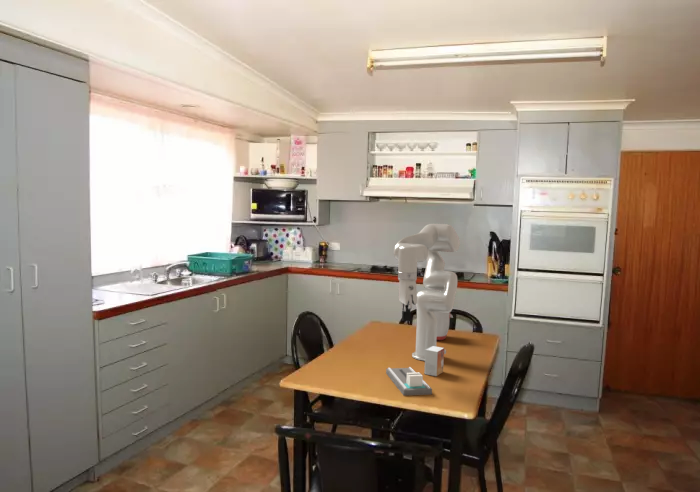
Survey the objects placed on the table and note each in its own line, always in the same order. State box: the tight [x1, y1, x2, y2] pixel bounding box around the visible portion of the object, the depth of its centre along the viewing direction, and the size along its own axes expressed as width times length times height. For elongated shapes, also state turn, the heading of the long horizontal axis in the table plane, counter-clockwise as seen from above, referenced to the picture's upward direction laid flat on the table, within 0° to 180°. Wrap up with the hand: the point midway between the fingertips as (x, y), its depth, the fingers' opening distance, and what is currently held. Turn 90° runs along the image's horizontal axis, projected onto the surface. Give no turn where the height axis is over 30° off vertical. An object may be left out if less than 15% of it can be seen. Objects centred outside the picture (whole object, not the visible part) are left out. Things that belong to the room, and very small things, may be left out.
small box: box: [424, 345, 445, 377], centre depth 206 cm, size 8×6×10 cm
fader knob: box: [406, 371, 424, 387], centre depth 185 cm, size 5×4×4 cm
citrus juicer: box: [433, 312, 454, 341], centre depth 265 cm, size 16×17×20 cm
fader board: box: [385, 366, 433, 396], centre depth 193 cm, size 11×25×2 cm, turn 11°
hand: (406, 320), depth 200 cm, fingers closed
